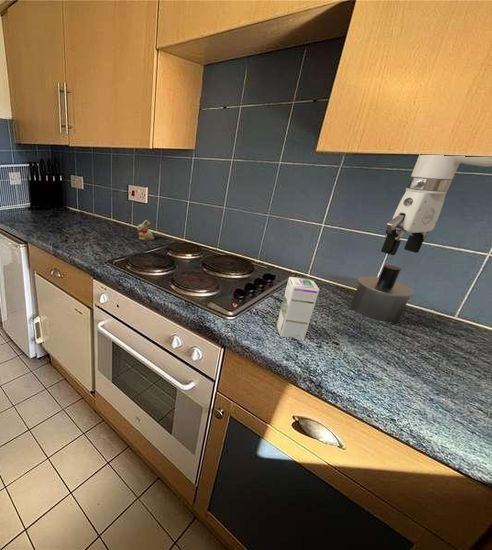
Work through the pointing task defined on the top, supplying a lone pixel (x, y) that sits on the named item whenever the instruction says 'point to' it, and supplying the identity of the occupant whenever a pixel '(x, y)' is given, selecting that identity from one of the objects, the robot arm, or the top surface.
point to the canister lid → (386, 283)
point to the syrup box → (297, 307)
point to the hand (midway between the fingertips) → (399, 252)
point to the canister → (378, 305)
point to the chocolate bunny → (145, 231)
